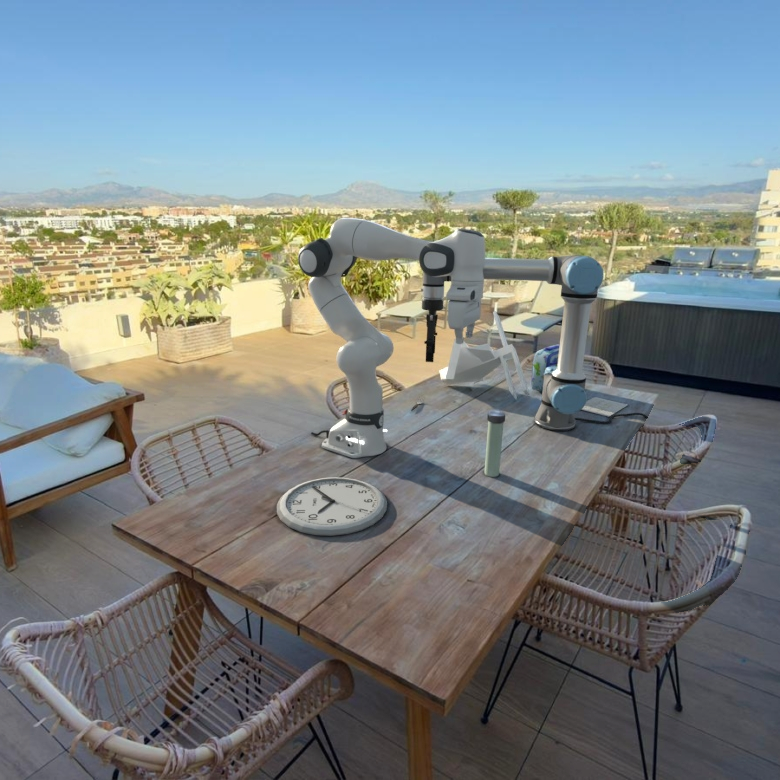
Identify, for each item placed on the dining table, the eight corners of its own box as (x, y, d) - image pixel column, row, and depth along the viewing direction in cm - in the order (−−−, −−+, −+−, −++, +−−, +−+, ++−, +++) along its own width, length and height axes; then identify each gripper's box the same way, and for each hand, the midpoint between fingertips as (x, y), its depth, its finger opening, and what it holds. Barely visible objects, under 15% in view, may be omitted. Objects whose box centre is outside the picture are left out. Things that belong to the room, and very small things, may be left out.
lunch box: (547, 397, 237) (552, 352, 231) (526, 391, 245) (531, 348, 238) (574, 386, 255) (580, 344, 249) (554, 381, 262) (559, 340, 256)
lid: (487, 423, 155) (488, 415, 155) (486, 417, 160) (487, 410, 160) (505, 424, 155) (506, 416, 154) (504, 418, 160) (504, 410, 159)
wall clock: (392, 527, 129) (268, 531, 127) (391, 533, 130) (269, 537, 127) (383, 473, 158) (282, 475, 155) (383, 478, 158) (282, 480, 156)
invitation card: (608, 416, 214) (573, 407, 224) (608, 416, 214) (573, 408, 224) (628, 404, 229) (594, 396, 238) (628, 405, 229) (594, 397, 238)
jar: (484, 476, 161) (489, 416, 155) (484, 470, 165) (488, 411, 159) (499, 477, 161) (504, 417, 155) (498, 471, 165) (503, 412, 159)
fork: (408, 411, 216) (408, 407, 215) (419, 400, 230) (419, 396, 229) (414, 412, 215) (414, 407, 214) (425, 401, 229) (425, 396, 229)
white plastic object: (461, 429, 252) (437, 405, 227) (444, 352, 274) (420, 323, 250) (535, 404, 240) (518, 377, 215) (510, 326, 262) (492, 293, 237)
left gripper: (466, 286, 154) (464, 333, 158) (444, 294, 136) (442, 346, 140) (487, 287, 151) (484, 334, 155) (467, 295, 134) (465, 348, 138)
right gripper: (424, 293, 195) (422, 349, 202) (419, 302, 172) (417, 365, 178) (444, 294, 195) (441, 350, 201) (442, 303, 171) (439, 366, 177)
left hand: (464, 340), depth 148 cm, fingers open, 8 cm apart
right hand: (430, 357), depth 190 cm, fingers open, 13 cm apart
